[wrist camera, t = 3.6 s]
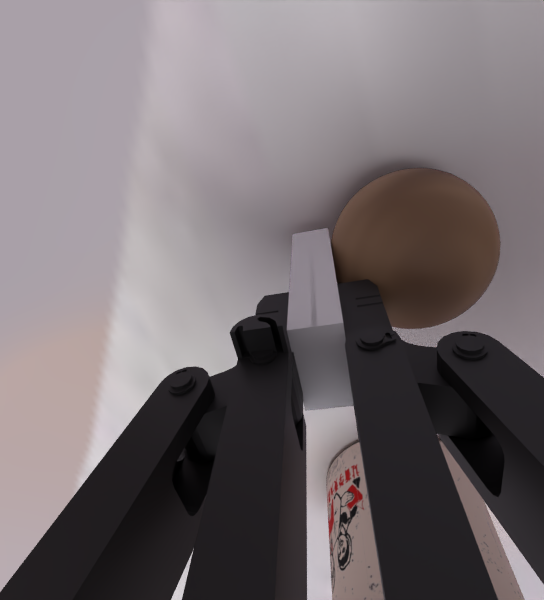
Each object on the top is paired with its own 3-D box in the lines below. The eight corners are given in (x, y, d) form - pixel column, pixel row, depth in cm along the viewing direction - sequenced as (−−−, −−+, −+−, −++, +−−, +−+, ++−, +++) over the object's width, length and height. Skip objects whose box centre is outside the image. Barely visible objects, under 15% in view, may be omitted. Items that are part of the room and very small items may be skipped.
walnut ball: (451, 143, 15) (557, 169, 10) (445, 272, 17) (527, 342, 13) (309, 172, 15) (346, 211, 10) (325, 296, 17) (360, 376, 13)
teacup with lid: (319, 427, 22) (330, 714, 13) (485, 425, 21) (642, 736, 11) (326, 541, 29) (337, 796, 19) (456, 543, 27) (543, 815, 17)
